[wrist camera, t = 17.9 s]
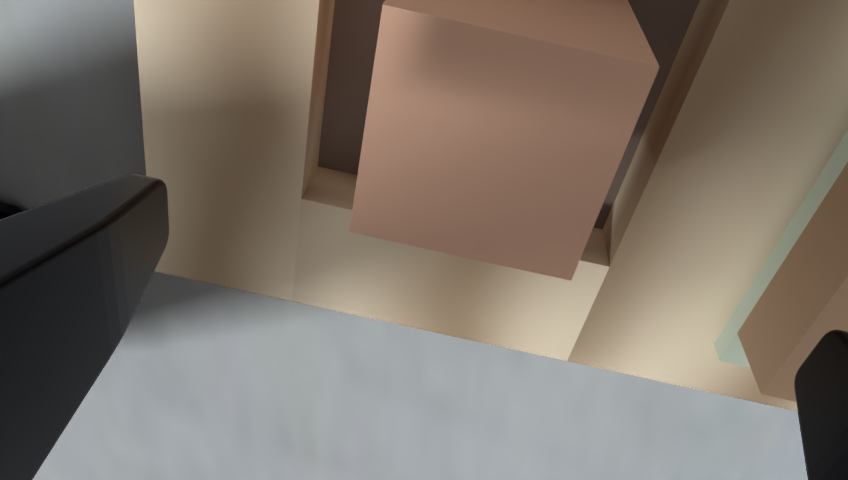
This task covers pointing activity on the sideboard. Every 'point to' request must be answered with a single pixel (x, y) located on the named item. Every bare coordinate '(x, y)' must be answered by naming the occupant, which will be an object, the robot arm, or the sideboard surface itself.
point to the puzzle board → (472, 279)
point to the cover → (796, 288)
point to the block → (499, 126)
